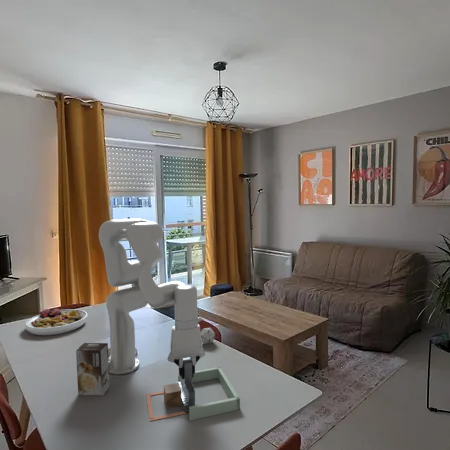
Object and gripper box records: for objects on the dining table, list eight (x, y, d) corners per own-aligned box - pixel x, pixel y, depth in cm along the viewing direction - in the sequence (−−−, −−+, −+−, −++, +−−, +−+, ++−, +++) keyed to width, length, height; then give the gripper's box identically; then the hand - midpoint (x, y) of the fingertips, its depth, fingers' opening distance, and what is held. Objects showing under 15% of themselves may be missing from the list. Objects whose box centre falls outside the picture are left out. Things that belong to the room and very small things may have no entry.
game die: (210, 352, 149) (213, 341, 143) (194, 345, 150) (196, 333, 144) (217, 337, 156) (220, 326, 150) (201, 330, 157) (204, 318, 151)
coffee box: (110, 385, 115) (109, 342, 114) (102, 396, 109) (101, 350, 108) (85, 385, 116) (84, 342, 115) (76, 395, 109) (75, 350, 109)
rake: (184, 412, 99) (183, 371, 98) (176, 387, 112) (175, 352, 112) (195, 409, 100) (195, 369, 100) (186, 386, 114) (186, 350, 113)
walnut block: (166, 408, 102) (165, 393, 102) (164, 399, 107) (163, 385, 106) (181, 405, 103) (181, 390, 103) (178, 396, 108) (178, 382, 108)
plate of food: (99, 322, 179) (98, 309, 179) (46, 342, 154) (45, 326, 153) (67, 314, 195) (66, 301, 194) (14, 330, 169) (13, 316, 169)
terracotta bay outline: (149, 421, 96) (149, 420, 96) (146, 394, 109) (146, 394, 109) (186, 413, 99) (186, 412, 99) (178, 388, 113) (178, 388, 113)
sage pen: (190, 420, 96) (189, 409, 96) (178, 383, 116) (177, 374, 116) (240, 409, 101) (239, 398, 101) (220, 375, 121) (220, 366, 121)
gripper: (206, 316, 111) (207, 367, 112) (160, 321, 106) (161, 375, 107) (212, 323, 104) (213, 377, 105) (163, 330, 99) (164, 386, 100)
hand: (187, 375), depth 106 cm, fingers closed on rake, 2 cm apart
